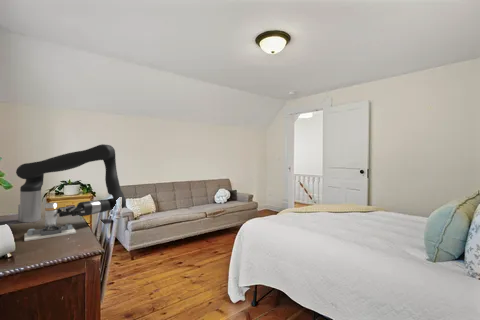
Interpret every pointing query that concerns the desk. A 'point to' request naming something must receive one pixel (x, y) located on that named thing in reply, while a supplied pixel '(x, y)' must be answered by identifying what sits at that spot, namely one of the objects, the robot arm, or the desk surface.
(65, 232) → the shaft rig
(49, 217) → the cylinder
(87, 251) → the desk surface
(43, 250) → the desk surface
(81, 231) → the desk surface
